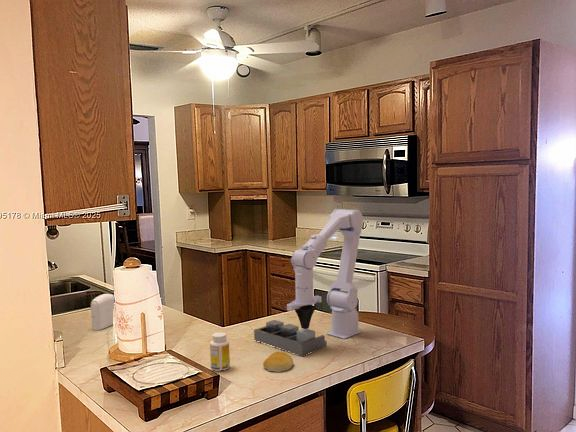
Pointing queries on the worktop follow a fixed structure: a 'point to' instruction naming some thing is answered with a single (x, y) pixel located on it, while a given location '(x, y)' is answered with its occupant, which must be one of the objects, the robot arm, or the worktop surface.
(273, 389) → the worktop surface
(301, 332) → the grey block
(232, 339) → the worktop surface
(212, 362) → the supplement bottle
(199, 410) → the worktop surface
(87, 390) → the worktop surface
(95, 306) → the photo printer
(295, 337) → the rack
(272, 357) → the bread roll
